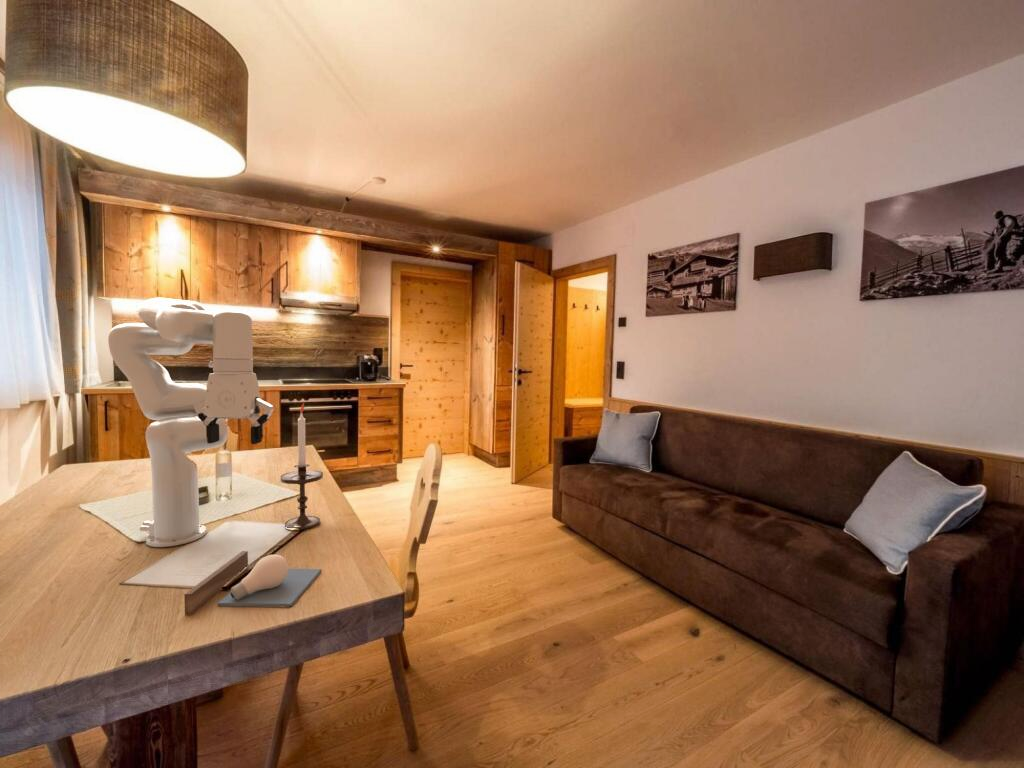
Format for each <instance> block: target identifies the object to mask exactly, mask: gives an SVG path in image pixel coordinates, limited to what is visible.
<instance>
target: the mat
mask: <svg viewBox="0 0 1024 768" xmlns="http://www.w3.org/2000/svg"><path fill="white" fill-rule="evenodd" d="M321 573H322V568H289V570H288V575H287V577H286V578H285V580H284V581H283V582H282V583H281V584H280V585H278V586H276V587H274V588H270V589H263V590H259V591H255V592H253V593H251V594H247V595H245V596H244V597H242V598H241V599H239V600H237V599H234V598H232V597H231V591H230V592H229V593H227V595H225V596H224V597H222V599H221V600H219V601H218V602H217V607H264V608H267V607H269V608H271V607H275V608H276V607H277V608H281V607H280V606H288V607H287V608H290V607H289V606H291V607H292V606H294V604H295V603H296V602H297V601H298V599H299V598H300V597H301V596H302V595H303V594H304V592H305V591H306V590H307V589H308V588H309V586H310V585H311V584H312V583H313V582H314V581H315V580H316V579H317V577H318V576H319V575H320V574H321ZM295 601H296V602H295ZM294 602H295V603H294Z"/></svg>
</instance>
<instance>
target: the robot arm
mask: <svg viewBox="0 0 1024 768" xmlns="http://www.w3.org/2000/svg"><path fill="white" fill-rule="evenodd" d="M138 318H139V319H140V320H141V322H142V323H141V322H128V323H127V322H126V323H121V324H118V325H115V326H114V327H113V328H111V329H110V331H109V333H108V338H107V339H108V340H107V341H108V348H109V353H110V355H111V358H112V359H113V361H114V363H115V364H116V366H117V367H118V369H119V370H120V371H121V372H122V373H123V375H124V376H125V377H126V378H127V380H128V381H129V384H130V386H131V389H132V391H133V395H135V399H136V401H137V403H138V406H139V407H140V410H141V412H142V414H143V416H144V417H146V418H147V419H149V420H152V421H153V422H151V423H150V424H149V425H148V426H147V427H146V431H145V433H144V435H145V442H146V447H147V450H148V454H149V458H150V460H149V461H150V466H151V467H150V469H151V493H152V519H153V520H144V521H143V523H142V524H141V526H140V527H139V531H140V532H149V533H148V534H149V535H148V536H146V538H145V544H146V545H147V546H149V547H152V548H168V547H174V546H175V547H176V546H180V545H184V544H188V543H191V542H194V541H197V540H200V539H201V538H202V537H204V536H205V535H206V534H207V531H208V530H207V527H206V526H205V525H203V524H200V503H199V502H200V501H199V499H200V498H199V493H200V492H199V469H198V466H197V464H196V463H195V462H194V461H193V460H192V459H191V458H189V456H188V455H187V454H189V453H193V452H197V451H198V452H200V451H205V450H210V449H211V450H212V449H214V448H219V447H221V446H223V445H224V444H225V443H226V441H227V439H228V435H229V434H228V427H227V423H226V421H225V419H235V420H236V419H248V421H249V422H250V423H251V424H252V425H253V426H251V427H250V444H252V445H257V444H260V443H262V442H263V441H262V440H263V439H264V429H263V428H264V425H265V424H266V422H267V421H268V420H270V418H271V416H272V414H273V411H275V406H274V405H272V404H270V403H269V402H267V401H264V400H262V399H261V394H260V386H259V381H258V378H257V374H256V373H255V372H254V369H253V368H254V364H253V363H254V360H253V357H254V356H253V355H254V354H253V353H254V352H253V349H254V348H253V319H252V316H251V315H250V314H249V313H247V312H243V311H233V310H219V311H211V310H210V311H208V310H207V309H206V307H205V306H204V305H202V303H200V302H197V301H193V300H184V299H175V298H166V297H154V298H149V299H147V300H144V301H143V302H142V303H141V304H140V306H139V307H138ZM198 344H199V345H212V357H213V359H212V361H209V362H208V368H212V371H213V373H212V372H211V373H210V372H209V375H208V379H207V383H206V385H204V384H201V383H194V382H190V383H188V382H187V383H176V382H174V381H173V380H172V378H171V375H170V373H169V371H168V370H167V369H166V368H165V366H163V365H162V364H161V363H159V362H158V361H156V360H155V359H153V358H151V357H150V356H153V355H155V356H180V355H181V356H182V355H185V354H187V353H188V352H190V351H191V350H192V349H193V347H194V346H195V345H198ZM261 409H262V410H263V413H262V415H261V414H260V413H261Z"/></svg>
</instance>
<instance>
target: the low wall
mask: <svg viewBox="0 0 1024 768" xmlns="http://www.w3.org/2000/svg"><path fill="white" fill-rule="evenodd" d="M247 566H248V567H249V551H248V550H242V551H240V552H239V553H238V554H237V555H235V556H234V557H233V558H231V559H230V560H228V561H227V562H226V563H224V564H222V566H220V567H219V568H218V569H216V570H215V571H214V572H213V571H212V573H210V575H208V576H206V578H204V579H202V580H201V581H200V582H199V583H197V584H196V585H195V586H193V587H192V588H190V589H189V590H188V591H186V592H185V593H184V596H183V597H184V600H183V601H184V616H192V615H193V614H194V613H197V611H198V610H200V609H201V608H202V607H203V606H204V605H205V604H206V603H208V602H209V601H211V599H213V598H214V597H215V596H217V594H219V593H220V592H221V591H222V590H223V589H222V587H223V586H224V585H225V584H226V583H227V582H229V581H230V580H231V579H232V578H233V577H234V576H236V575H237V574H238V573H239V572H241V571H242V570H243V569H244V568H245V567H247Z"/></svg>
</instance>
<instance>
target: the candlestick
mask: <svg viewBox="0 0 1024 768" xmlns="http://www.w3.org/2000/svg"><path fill="white" fill-rule="evenodd" d="M304 406H305V402H302V405H301V407H300V410H299V413H300V415H299V418H298V419H297V456H298V457H297V458H298V461H297V464H295V465H294V466H293V467H294V468H296V469H297V470H294V471H289V472H286V473H283V474H281V475H280V482H281V483H283V484H286V485H287V484H289V485H299V496H298V497H297V498H296V501H297V502H298V503H299V505H298V506H297V509H298V510H299V516H297V517H293V518H289V519H288V520H287V521H285V523H284V528H285V527H287V528H298V529H299V530H301V531H300V532H302V531H307V530H310V529H314V528H317V527H318V526H319V525H321V518H320V517H319V516H314V515H306V509H307V508H308V506H307V505H306V502H307V501H308V499H309V497H308V496H307V495H306V484H308V483H313V482H317V481H320V480H322V479H323V478H324V472H323V471H321V470H316V469H307V467H310V464H307V463H306V462H307V461H306V418H304V415H303V412H304V408H305V407H304ZM294 526H301V527H294Z"/></svg>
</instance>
